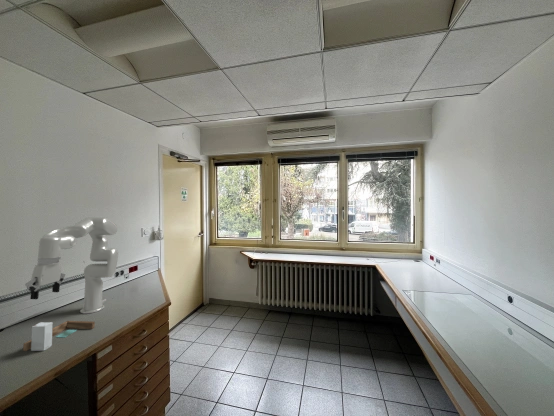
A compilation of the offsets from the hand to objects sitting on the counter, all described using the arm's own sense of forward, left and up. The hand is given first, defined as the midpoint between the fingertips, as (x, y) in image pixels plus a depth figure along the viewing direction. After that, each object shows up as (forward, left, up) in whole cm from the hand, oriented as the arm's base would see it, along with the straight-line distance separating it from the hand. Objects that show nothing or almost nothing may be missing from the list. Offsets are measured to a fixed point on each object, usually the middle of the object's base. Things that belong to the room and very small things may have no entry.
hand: (45, 295), depth 107 cm
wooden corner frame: (-8, +2, -26) cm, 27 cm away
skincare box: (+1, +1, -26) cm, 26 cm away
